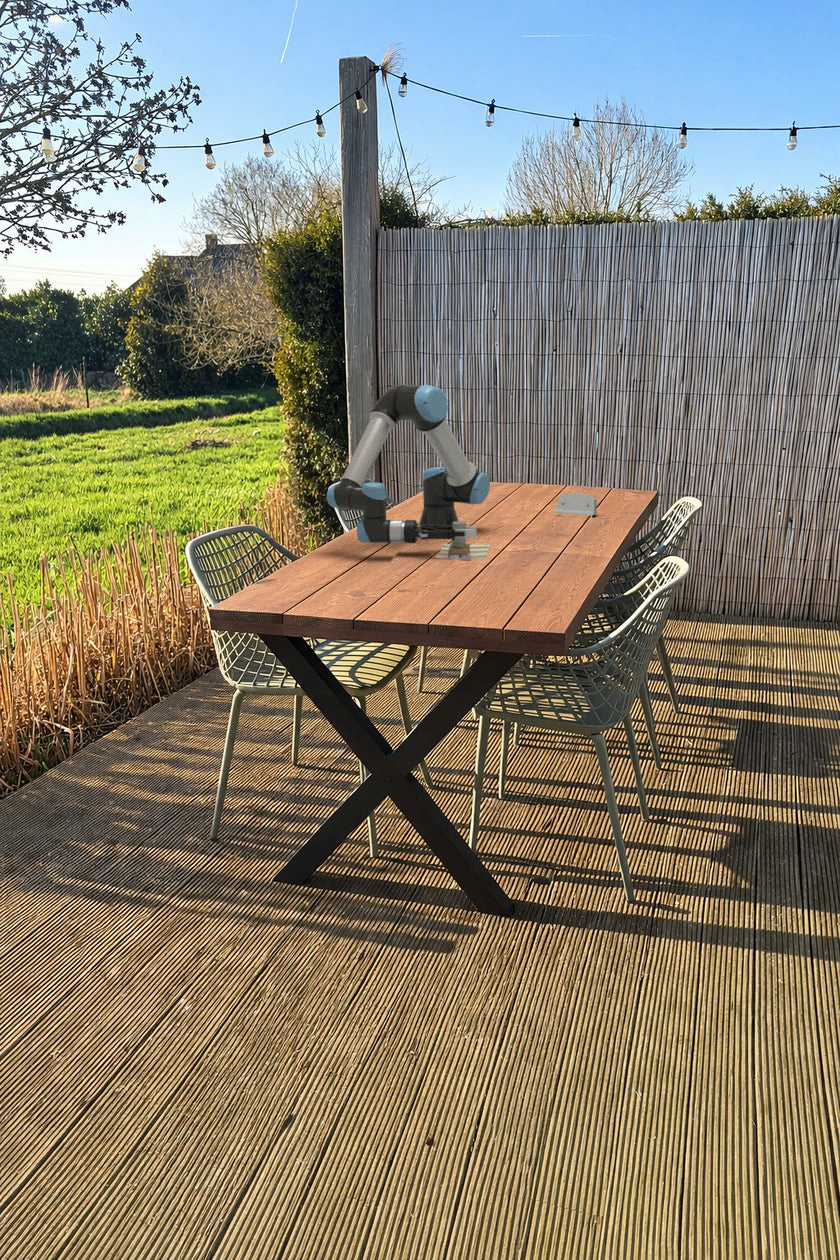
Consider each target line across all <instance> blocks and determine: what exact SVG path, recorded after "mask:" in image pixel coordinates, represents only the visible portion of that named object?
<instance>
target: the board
mask: <svg viewBox="0 0 840 1260" xmlns="http://www.w3.org/2000/svg"><path fill="white" fill-rule="evenodd" d="M451 544H452V543H443V545H442V546H441V548H440V550H439V552H438V553H437V555H436V557H435V559H449V556H448V550H449V548H450V546H451ZM469 544H470V543H469ZM490 547H491V544H476V543H475V544H473V543H472V544H470V552H469V555H471V560H472V559H477V560H481V559H482V560H486V558H487V556H488V552H489V551H490ZM459 560H461V558H459Z"/></svg>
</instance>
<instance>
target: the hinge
mask: <svg viewBox="0 0 840 1260" xmlns="http://www.w3.org/2000/svg"><path fill="white" fill-rule="evenodd" d="M597 502H598V501H597V499H596V498H595V497H593V496H592V495H590V494H585V493H579V492H572V493H564V494H561V495H559V497H558V501H557V504H556V506H555V510H554V513H562V514H578V515H590V516H593V515H595V514H596V515H597V512H598V511H597V504H598V503H597ZM593 517H594V516H593Z"/></svg>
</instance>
